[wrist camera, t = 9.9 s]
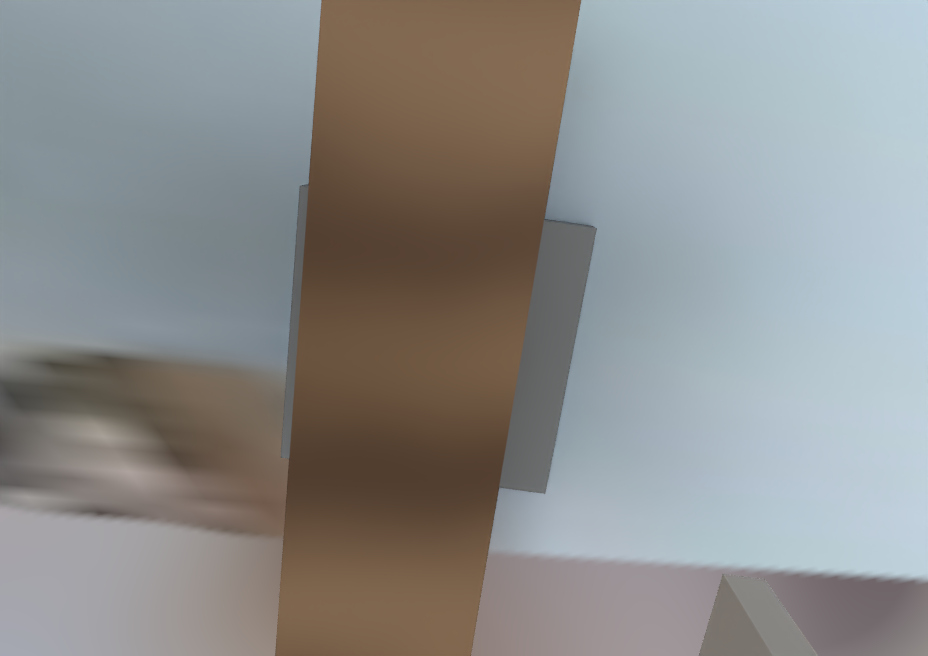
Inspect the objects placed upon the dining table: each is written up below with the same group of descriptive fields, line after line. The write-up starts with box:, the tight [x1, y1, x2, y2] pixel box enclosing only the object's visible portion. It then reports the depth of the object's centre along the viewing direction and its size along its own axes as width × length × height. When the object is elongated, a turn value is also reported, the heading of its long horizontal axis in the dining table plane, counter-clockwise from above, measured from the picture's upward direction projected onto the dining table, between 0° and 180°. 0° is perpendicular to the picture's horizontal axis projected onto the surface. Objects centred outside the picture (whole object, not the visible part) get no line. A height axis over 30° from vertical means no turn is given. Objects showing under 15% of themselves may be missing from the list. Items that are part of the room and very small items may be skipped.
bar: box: [275, 0, 581, 656], centre depth 17 cm, size 26×5×5 cm, turn 172°
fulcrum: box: [281, 185, 597, 494], centre depth 24 cm, size 12×12×8 cm
